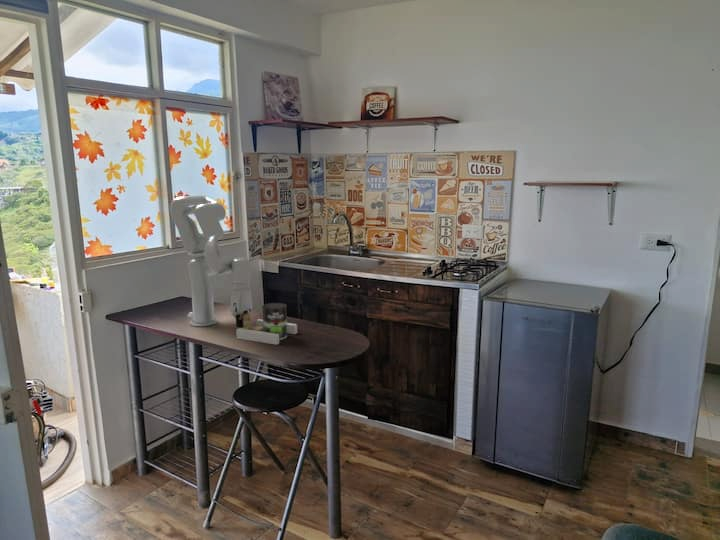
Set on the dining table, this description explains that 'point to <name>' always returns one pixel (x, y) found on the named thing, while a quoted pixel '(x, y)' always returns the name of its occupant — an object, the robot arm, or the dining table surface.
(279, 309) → the coffee can
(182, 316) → the dining table surface
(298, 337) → the dining table surface
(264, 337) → the white rectangular posts
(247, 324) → the wooden rectangular block
